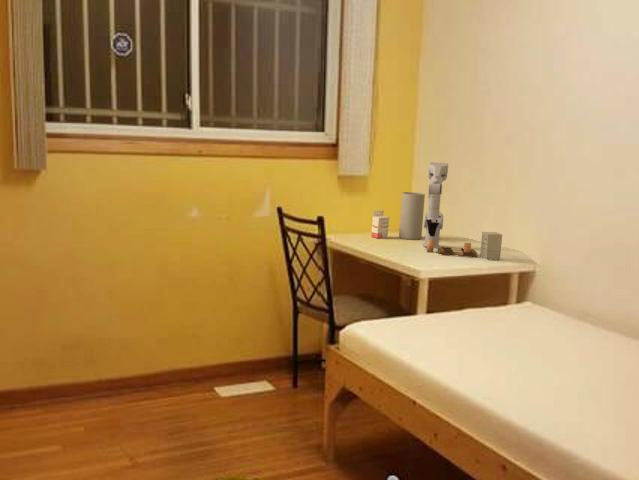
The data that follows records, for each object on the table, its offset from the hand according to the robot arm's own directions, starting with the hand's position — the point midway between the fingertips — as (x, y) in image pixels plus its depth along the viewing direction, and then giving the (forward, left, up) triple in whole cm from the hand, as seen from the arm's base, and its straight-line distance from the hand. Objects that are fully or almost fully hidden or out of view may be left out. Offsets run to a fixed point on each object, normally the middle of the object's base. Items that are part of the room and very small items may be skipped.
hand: (431, 235), depth 334 cm
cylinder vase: (-42, -8, -9) cm, 44 cm away
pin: (+4, +17, -8) cm, 20 cm away
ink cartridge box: (-36, -25, -9) cm, 45 cm away
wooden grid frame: (+1, +13, -8) cm, 15 cm away
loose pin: (0, 0, -8) cm, 8 cm away
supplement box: (+8, +28, -9) cm, 30 cm away
